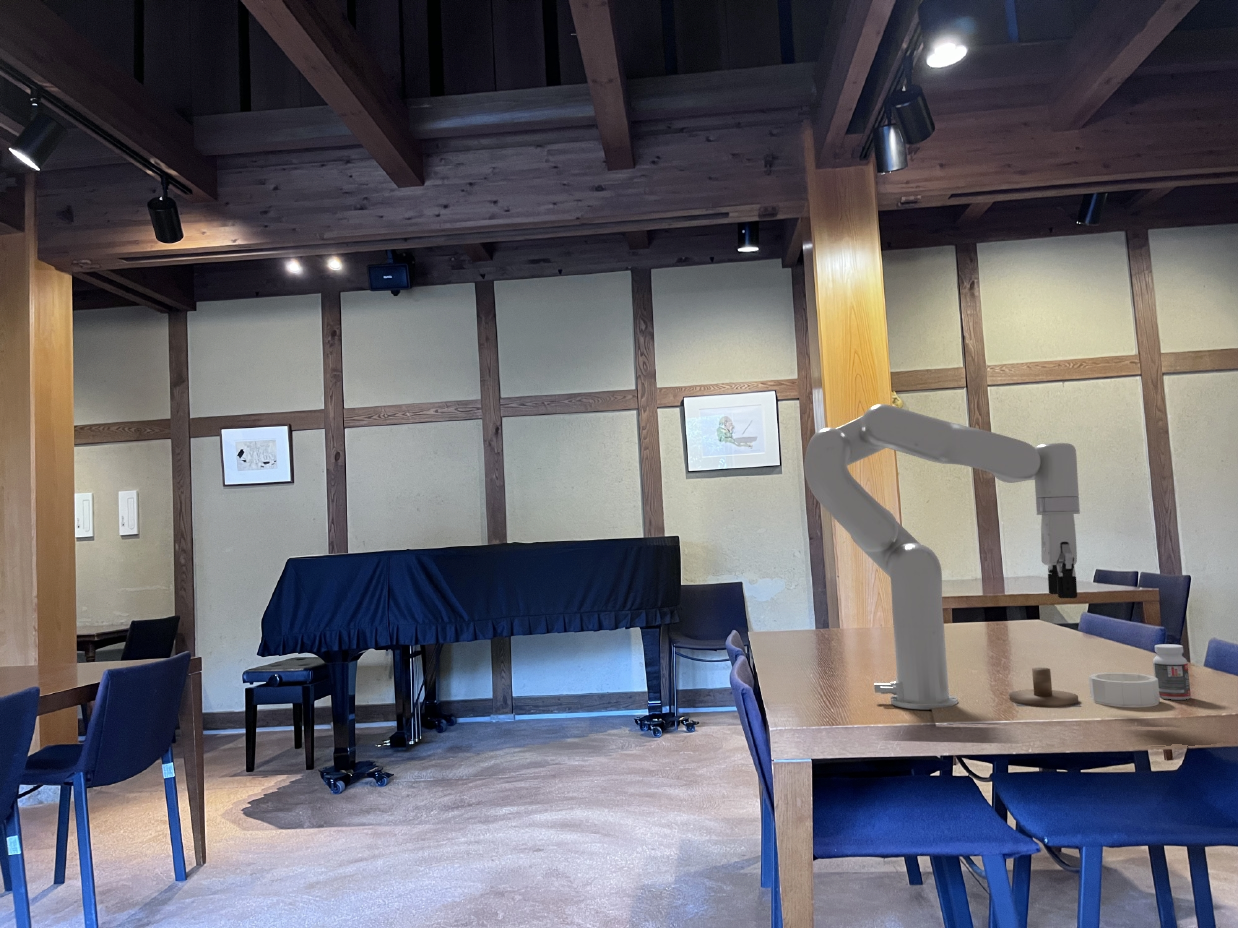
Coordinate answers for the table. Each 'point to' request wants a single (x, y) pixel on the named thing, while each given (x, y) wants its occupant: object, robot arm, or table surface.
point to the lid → (1043, 692)
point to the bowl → (1124, 689)
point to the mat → (1060, 706)
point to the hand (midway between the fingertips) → (1062, 595)
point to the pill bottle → (1171, 672)
